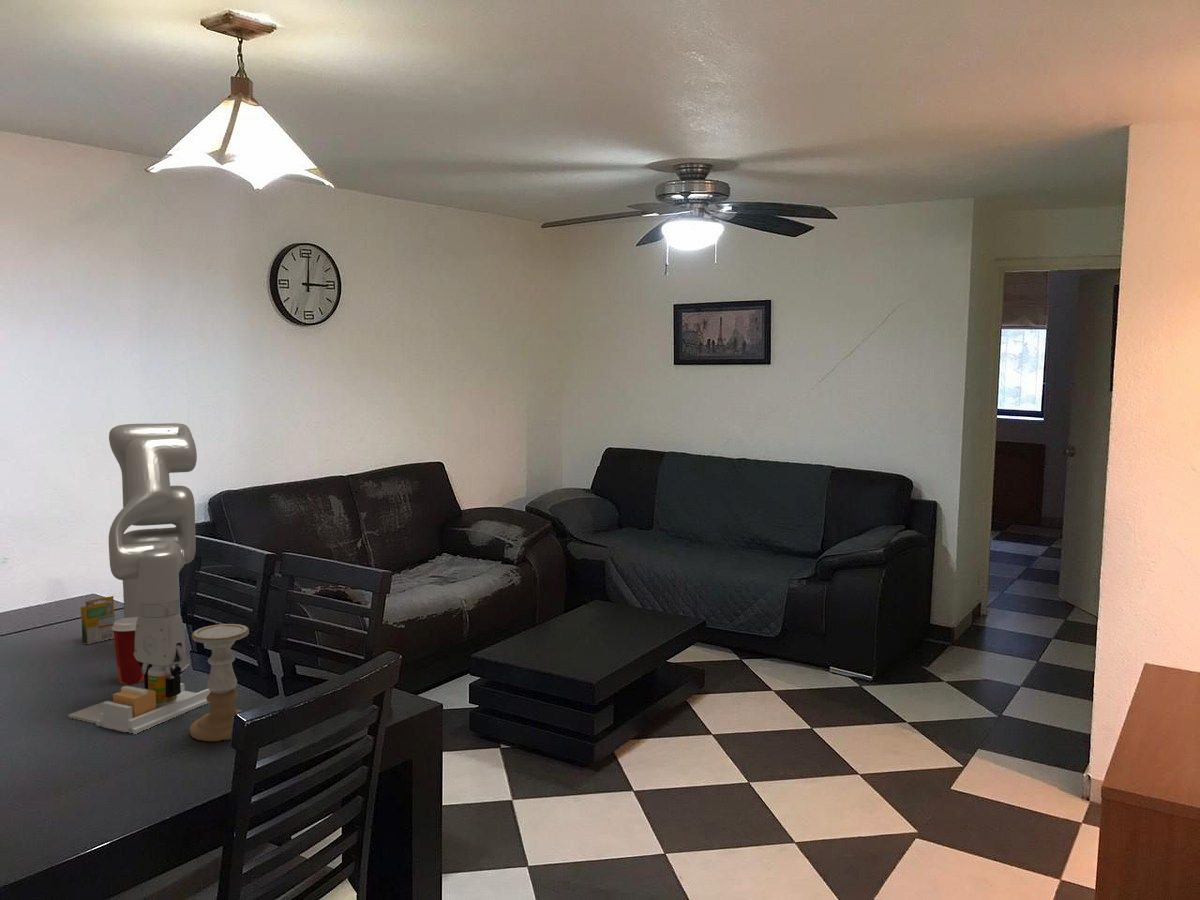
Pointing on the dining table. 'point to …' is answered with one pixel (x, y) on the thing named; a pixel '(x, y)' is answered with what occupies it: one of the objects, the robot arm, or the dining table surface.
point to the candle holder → (219, 681)
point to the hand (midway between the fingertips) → (162, 692)
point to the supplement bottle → (159, 684)
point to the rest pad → (89, 713)
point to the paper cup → (126, 651)
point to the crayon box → (97, 620)
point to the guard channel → (122, 714)
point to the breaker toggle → (136, 699)
